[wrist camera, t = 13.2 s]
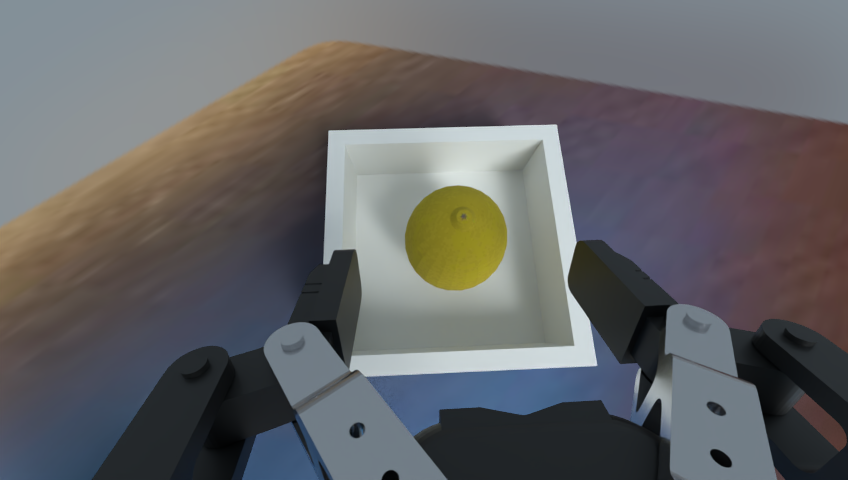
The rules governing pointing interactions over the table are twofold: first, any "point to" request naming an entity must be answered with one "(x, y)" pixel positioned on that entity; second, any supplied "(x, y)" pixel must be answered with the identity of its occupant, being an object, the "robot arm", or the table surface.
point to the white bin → (471, 308)
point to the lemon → (456, 238)
